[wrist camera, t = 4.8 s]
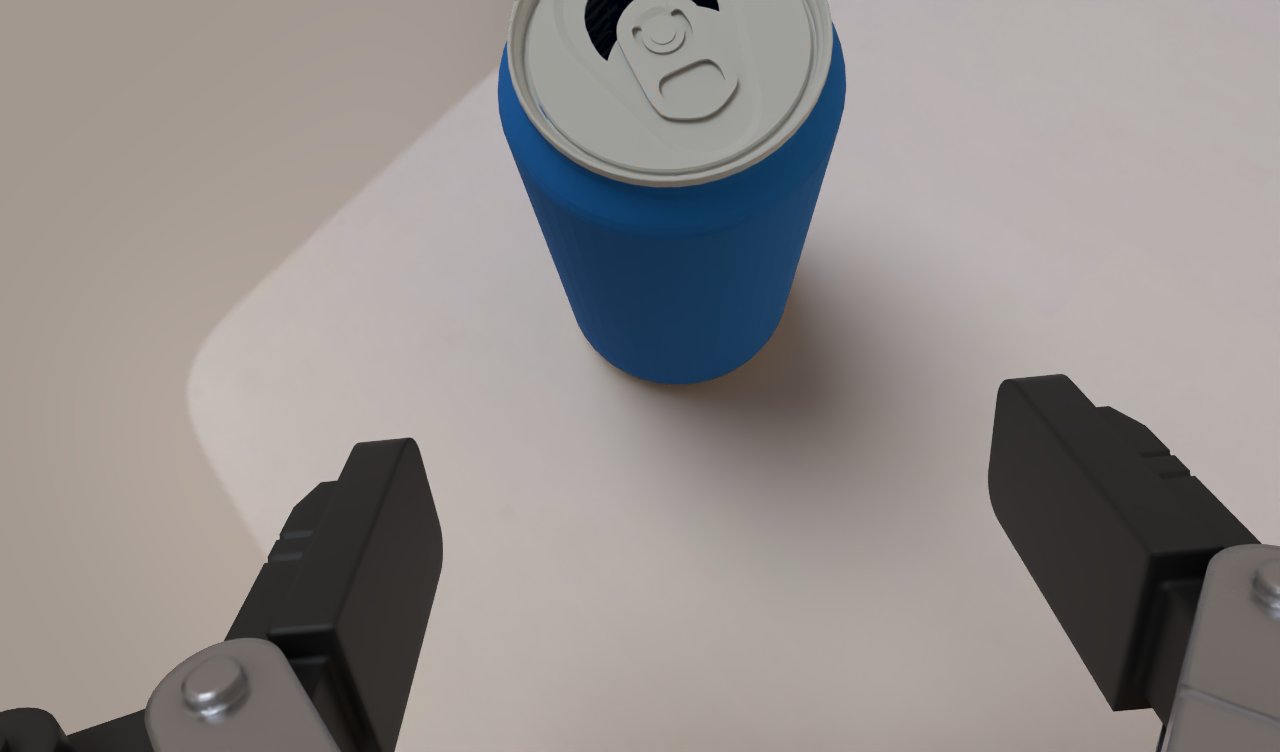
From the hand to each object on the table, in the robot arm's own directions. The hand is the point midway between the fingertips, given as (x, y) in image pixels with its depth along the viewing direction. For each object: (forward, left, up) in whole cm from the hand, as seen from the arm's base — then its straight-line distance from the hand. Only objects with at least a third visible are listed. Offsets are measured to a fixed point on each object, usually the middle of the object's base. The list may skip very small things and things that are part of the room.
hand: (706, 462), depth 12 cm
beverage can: (-5, +6, -13) cm, 15 cm away
